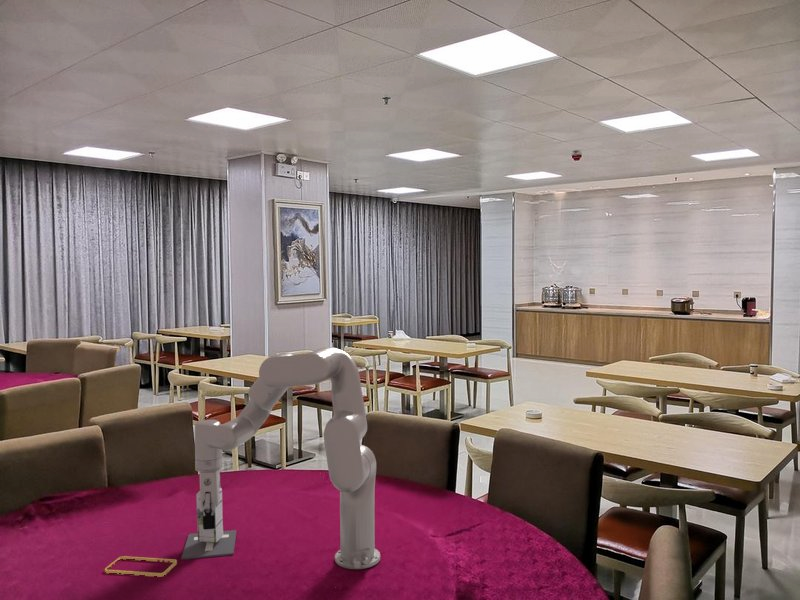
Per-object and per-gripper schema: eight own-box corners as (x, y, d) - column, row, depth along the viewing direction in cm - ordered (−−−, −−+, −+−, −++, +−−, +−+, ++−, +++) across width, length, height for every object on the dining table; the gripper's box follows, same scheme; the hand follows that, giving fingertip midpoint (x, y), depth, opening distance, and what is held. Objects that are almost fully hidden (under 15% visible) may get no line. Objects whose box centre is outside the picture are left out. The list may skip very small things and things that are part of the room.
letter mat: (233, 554, 178) (233, 552, 178) (181, 559, 175) (181, 557, 175) (236, 531, 194) (236, 529, 194) (188, 535, 191) (188, 533, 191)
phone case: (120, 560, 176) (120, 556, 176) (178, 564, 174) (178, 559, 174) (103, 574, 168) (103, 570, 168) (163, 578, 165) (163, 573, 165)
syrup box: (223, 535, 187) (222, 486, 186) (216, 543, 181) (214, 494, 180) (205, 534, 188) (204, 486, 187) (197, 543, 182) (195, 493, 181)
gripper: (219, 471, 175) (221, 534, 176) (224, 453, 192) (225, 511, 193) (191, 473, 174) (193, 537, 175) (198, 455, 191) (200, 513, 192)
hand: (210, 522), depth 184 cm, fingers closed on syrup box, 7 cm apart
